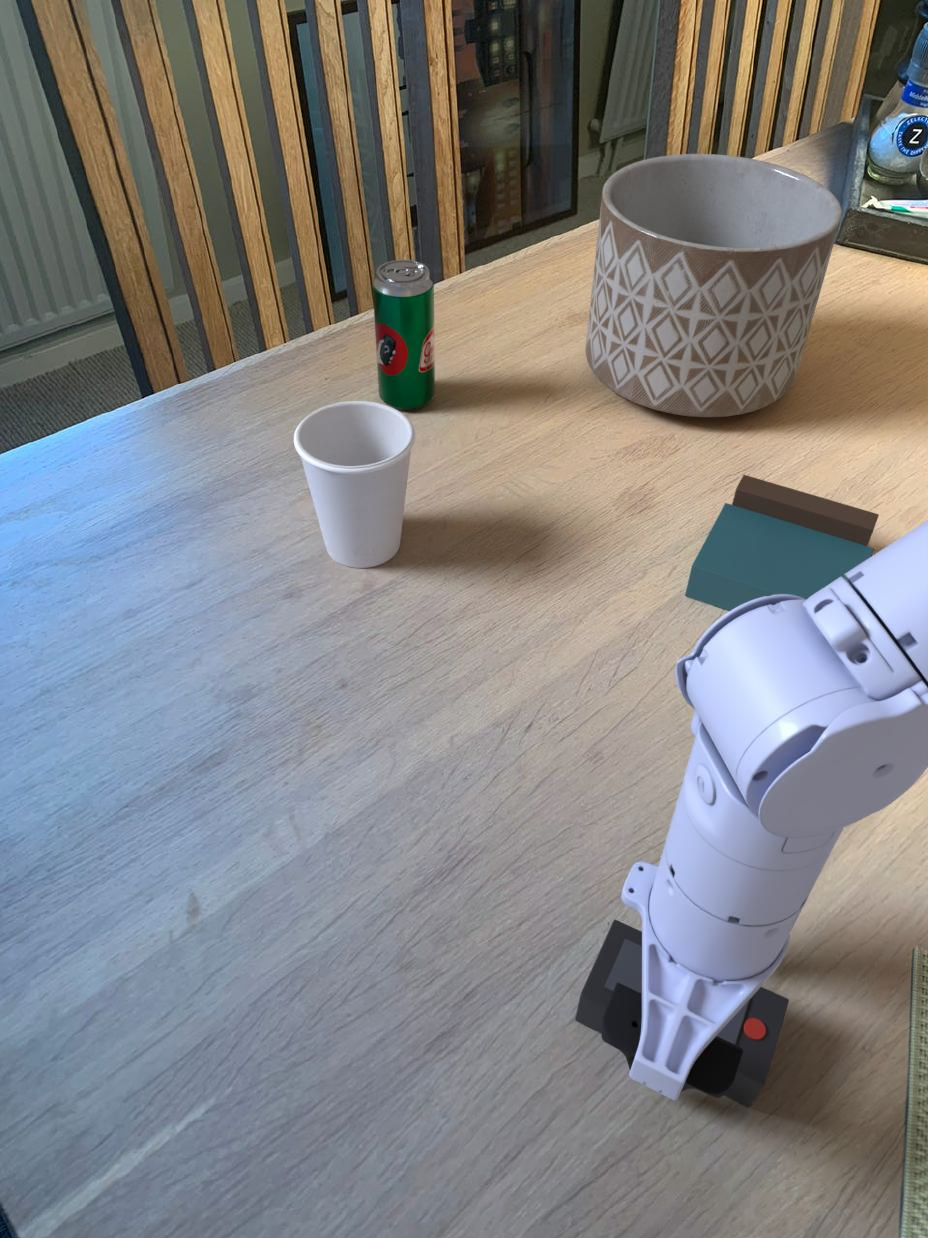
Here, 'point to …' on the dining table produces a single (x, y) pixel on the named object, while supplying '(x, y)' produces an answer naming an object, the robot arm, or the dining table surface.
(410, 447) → the dixie cup
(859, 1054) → the dining table surface
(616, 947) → the remote
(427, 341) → the soda can
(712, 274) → the planter
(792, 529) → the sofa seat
